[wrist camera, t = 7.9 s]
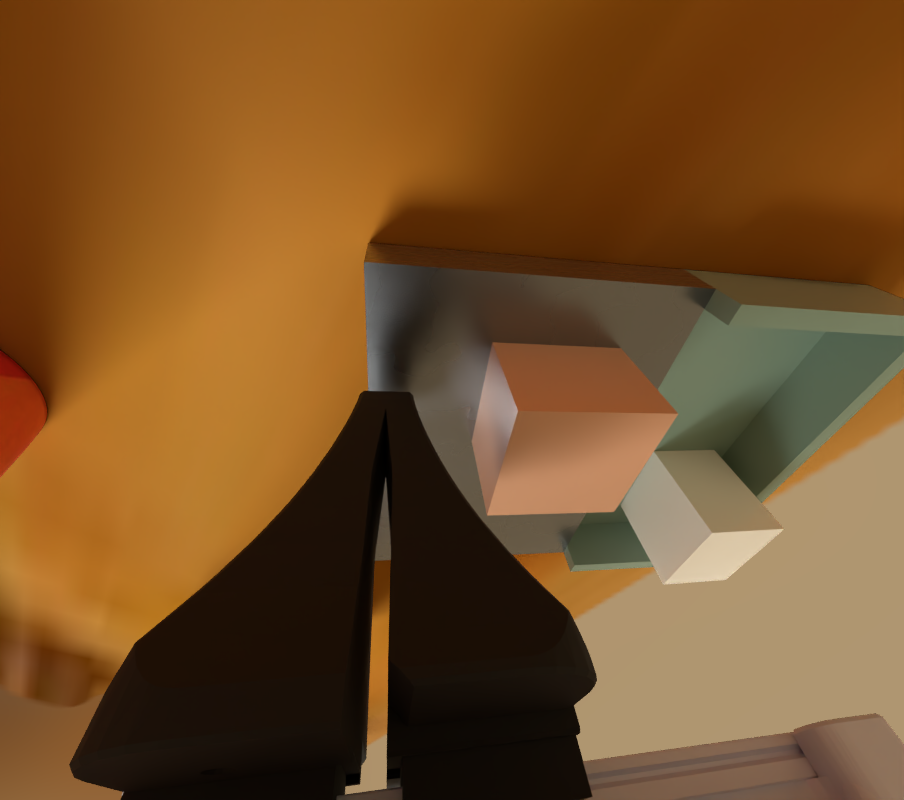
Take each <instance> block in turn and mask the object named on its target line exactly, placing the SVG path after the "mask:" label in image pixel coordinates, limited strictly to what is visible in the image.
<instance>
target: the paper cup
mask: <svg viewBox="0 0 904 800" xmlns="http://www.w3.org/2000/svg"><path fill="white" fill-rule="evenodd" d="M46 419H47V406H46V402H45V400H44V397H43V395H42V393H41V391H40V389H39V388H38V386H37V385H36V384H35V382H34V381H33V380H32V378H31V377H30V376H29V375H28V374H27V373H26V372H25V371H24V370H23V369H22V368H21V367H20V366H19V365H18V364H17V363H16V362H15V361H13V360H12V359H11V358H10V357H9V356H7V355H6V354H5V353H3V352H2V351H1V350H0V477H1V476H2V475H3V474H4V473H5V472H6V471H7V469H8V468H9V467H10V466H11V465H12V464H13V463H14V462H15V460H16V459H17V458H18V457H19V456H20V455H21V454H22V453H23V451H24V450H25V449H26V448H27V447H28V446H29V444H30V443H31V442H32V441H33V440H34V438H35V437H36V436H37V435H38V433H39V432H40V431H41V429H42V428H43V426H44V424H45V422H46Z"/></svg>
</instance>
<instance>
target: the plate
mask: <svg viewBox="0 0 904 800" xmlns="http://www.w3.org/2000/svg"><path fill="white" fill-rule="evenodd" d="M364 274H365V303H366V333H367V362H368V391H396V392H410V393H411V394H412V395H413V397H414V401H415V405H416V408H417V411H418V414H419V416H420V419H421V421H422V424H423V426H424V428H425V430H426V433H427V435H428V437H429V439H430V441H431V443H432V445H433V447H434V449H435V450H436V452H437V454H438V456H439V458H440V459H441V461H442V463H443V465H444V466H445V468H446V470H447V471H448V473H449V474H450V476H451V478H452V479H453V481H454V482H455V484H456V485H457V487H458V488H459V490H460V491H461V493H462V494H463V495H464V497H465V498H466V500H467V501H468V502H469V504H470V505H471V506H472V508H473V509H474V510H475V512H476V513H477V514H478V516H479V517H480V518H481V519H482V521H483V522H484V523H485V524H486V525H487V526H488V528H489V529H490V530H491V531H492V532H493V533H494V535H495V536H496V537H497V538H498V539H499V540H500V542H501V543H502V544H503V545H504V546H505V547H506V549H507V550H508V551H509V552H510V553H511V554H534V553H556V552H564V551H565V549H566V547H567V545H568V544H569V542H570V540H571V539H572V537H573V535H574V533H575V532H576V530H577V528H578V526H579V525H580V523H581V521H582V520H583V518H584V516H585V514H586V513H560V514H525V515H489V516H487V513H486V508H485V503H484V498H483V494H482V489H481V484H480V479H479V474H478V469H477V465H476V460H475V455H474V450H473V445H472V438H473V433H474V428H475V423H476V418H477V414H478V409H479V404H480V399H481V394H482V389H483V385H484V380H485V375H486V370H487V365H488V361H489V356H490V351H491V346H492V342H497V343H518V344H540V345H561V346H583V347H605V348H621V349H622V350H623V351H624V352H625V353H626V355H627V356H628V357H629V358H630V359H631V360H632V361H633V363H634V364H635V365H636V366H637V367H638V368H639V369H640V371H641V372H642V373H643V374H644V375H645V376H646V377H647V378H648V380H649V381H650V382H651V383H652V384H653V385H654V386H655V388H656V389H657V390H658V388H659V387H660V385H661V383H662V381H663V380H664V378H665V376H666V375H667V373H668V371H669V369H670V368H671V366H672V364H673V362H674V361H675V359H676V357H677V356H678V354H679V352H680V350H681V349H682V347H683V345H684V343H685V342H686V340H687V338H688V337H689V335H690V333H691V331H692V330H693V328H694V326H695V324H696V323H697V321H698V319H699V318H700V316H701V314H702V312H703V311H704V309H705V307H706V305H707V304H708V302H709V300H710V299H711V297H712V295H713V293H714V292H715V290H716V289H715V288H714V287H712V286H710V285H709V284H707V283H705V282H704V281H702V280H701V279H699V278H697V277H696V276H694V275H692V274H691V273H689V272H687V271H686V270H684V269H673V268H661V267H649V266H637V265H625V264H614V263H602V262H590V261H578V260H566V259H555V258H543V257H531V256H519V255H507V254H496V253H484V252H472V251H460V250H448V249H437V248H425V247H413V246H401V245H389V244H378V243H368V247H367V251H366V256H365V260H364ZM380 560H391V545H390V530H389V515H388V501H387V485H386V479H385V487H384V494H383V502H382V509H381V516H380V524H379V531H378V538H377V546H376V554H375V561H380Z"/></svg>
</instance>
